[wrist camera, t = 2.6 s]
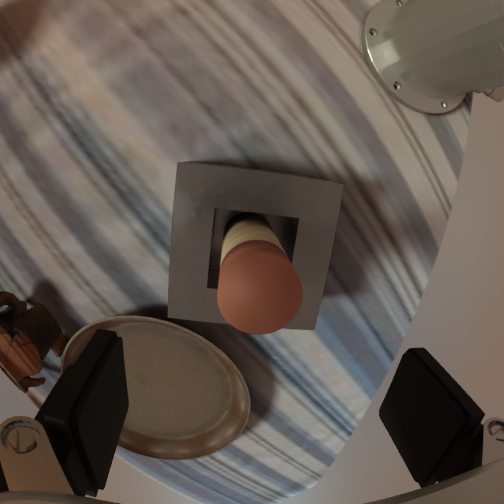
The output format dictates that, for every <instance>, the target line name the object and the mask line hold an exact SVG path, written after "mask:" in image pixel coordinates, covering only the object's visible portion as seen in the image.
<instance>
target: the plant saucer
mask: <svg viewBox="0 0 504 504" xmlns="http://www.w3.org/2000/svg"><path fill="white" fill-rule="evenodd" d="M97 329H105V330H111V331H116V333H117V336H119V337H122V339H123V350H124V362H125V372H126V381H127V390H128V397H129V408H128V412H127V415H126V418H125V421H124V425H123V428H122V431H121V434H120V437H119V441H118V444H117V446H118V447H120V448H122V449H125V450H127V451H129V452H132V453H135V454H138V455H141V456H145V457H149V458H154V459H160V460H192V459H198V458H202V457H205V456H208V455H211V454H214V453H216V452H218V451H220V450H222V449H224V448H225V447H227V446H228V445H230V444H231V443H232V442H233V441H234V440H235V439H237V437H238V436H239V435H240V434H241V433H242V431H243V429H244V428H245V426H246V424H247V422H248V419H249V415H250V408H251V401H250V394H249V390H248V387H247V384H246V382H245V380H244V378H243V376H242V374H241V372H240V371H239V369H238V368H237V367H236V365H235V364H234V363H233V362H232V360H231V359H230V358H229V357H228V356H227V355H226V354H225V353H224V352H222V351H221V350H220V349H219V348H218V347H216V346H215V345H214V344H213V343H211V342H210V341H208V340H207V339H206V338H204V337H202V336H201V335H199V334H197V333H195V332H194V331H192V330H190V329H187V328H185V327H183V326H181V325H178V324H175V323H172V322H169V321H166V320H162V319H158V318H153V317H146V316H136V315H126V316H114V317H108V318H104V319H100V320H97V321H95V322H92V323H90V324H88V325H86V326H85V327H83V328H82V329H80V330H79V331H78V332H77V333H76V334H75V335H74V336H73V337H72V338H71V339H70V341H69V342H68V344H67V345H66V348H65V350H64V352H63V355H62V360H61V375H62V374H63V372H64V370H65V369H66V368H67V366H68V365H70V364H75V362H76V361H77V359H78V358H79V356H80V355H81V353H82V351H83V350H84V348H85V347H86V345H87V344H88V342H89V341H90V339H91V338H92V336H93V335H94V334H95V332H96V331H97Z"/></svg>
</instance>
